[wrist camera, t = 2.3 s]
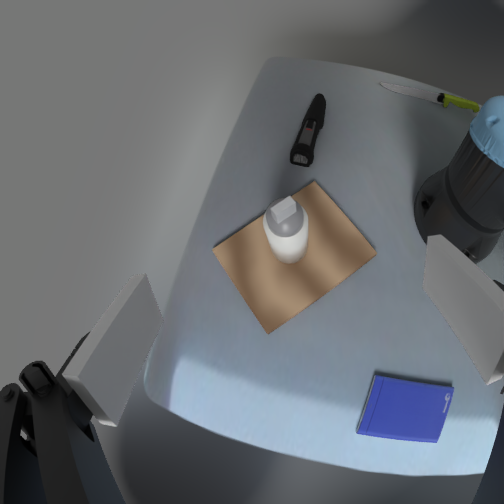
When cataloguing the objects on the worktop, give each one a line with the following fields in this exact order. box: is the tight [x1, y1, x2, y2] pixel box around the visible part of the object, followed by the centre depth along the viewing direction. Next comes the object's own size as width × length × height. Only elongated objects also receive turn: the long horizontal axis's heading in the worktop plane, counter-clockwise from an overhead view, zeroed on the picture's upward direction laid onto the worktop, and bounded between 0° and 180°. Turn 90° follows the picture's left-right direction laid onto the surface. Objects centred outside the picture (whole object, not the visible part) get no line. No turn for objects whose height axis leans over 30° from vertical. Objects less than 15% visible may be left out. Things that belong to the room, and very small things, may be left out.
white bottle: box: [263, 196, 308, 264], centre depth 34 cm, size 5×5×12 cm
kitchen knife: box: [380, 82, 479, 113], centre depth 44 cm, size 22×1×3 cm, turn 75°
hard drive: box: [356, 375, 454, 443], centre depth 30 cm, size 2×8×12 cm
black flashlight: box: [290, 93, 326, 167], centre depth 46 cm, size 4×16×3 cm, turn 160°
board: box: [212, 181, 377, 334], centre depth 40 cm, size 18×14×1 cm
